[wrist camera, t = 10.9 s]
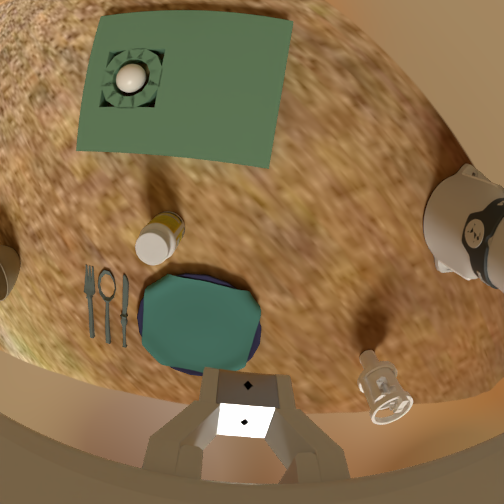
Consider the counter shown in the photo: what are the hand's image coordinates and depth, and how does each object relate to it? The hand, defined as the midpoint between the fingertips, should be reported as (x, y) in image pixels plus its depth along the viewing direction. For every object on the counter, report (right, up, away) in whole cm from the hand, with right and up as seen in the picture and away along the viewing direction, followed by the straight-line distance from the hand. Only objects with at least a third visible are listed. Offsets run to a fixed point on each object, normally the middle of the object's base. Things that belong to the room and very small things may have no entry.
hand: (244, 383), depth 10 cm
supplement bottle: (-11, +8, +30) cm, 33 cm away
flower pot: (-44, +3, +31) cm, 54 cm away
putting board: (-9, +27, +23) cm, 36 cm away
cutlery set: (-13, -6, +36) cm, 39 cm away
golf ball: (-15, +27, +21) cm, 37 cm away
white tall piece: (+21, -14, +40) cm, 47 cm away
